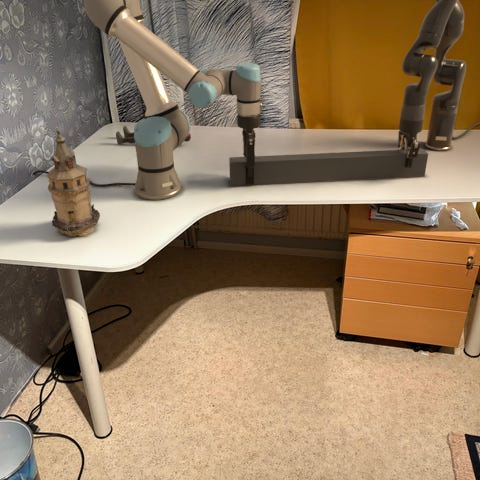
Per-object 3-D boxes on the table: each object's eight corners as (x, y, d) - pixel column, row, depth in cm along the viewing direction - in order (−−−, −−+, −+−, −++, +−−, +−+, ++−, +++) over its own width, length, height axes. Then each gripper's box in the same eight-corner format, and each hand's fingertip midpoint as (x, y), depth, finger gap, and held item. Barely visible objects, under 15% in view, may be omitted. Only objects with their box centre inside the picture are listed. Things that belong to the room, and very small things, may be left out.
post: (230, 186, 181) (230, 162, 177) (229, 180, 185) (229, 157, 181) (424, 176, 186) (428, 153, 182) (419, 171, 190) (422, 148, 186)
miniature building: (80, 214, 164) (63, 117, 149) (111, 225, 157) (96, 125, 142) (44, 231, 154) (22, 130, 140) (75, 244, 147) (55, 139, 133)
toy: (131, 119, 231) (198, 119, 225) (133, 133, 234) (199, 134, 228) (106, 139, 209) (180, 139, 203) (109, 154, 212) (182, 155, 206)
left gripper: (263, 121, 164) (263, 191, 176) (256, 105, 180) (256, 170, 191) (239, 122, 164) (240, 192, 175) (234, 106, 179) (235, 171, 191)
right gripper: (431, 122, 171) (423, 172, 180) (415, 110, 184) (408, 157, 192) (409, 123, 171) (401, 173, 179) (393, 111, 183) (387, 157, 192)
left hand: (249, 180), depth 183 cm, fingers closed on post, 5 cm apart
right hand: (405, 164), depth 186 cm, fingers closed on post, 5 cm apart
